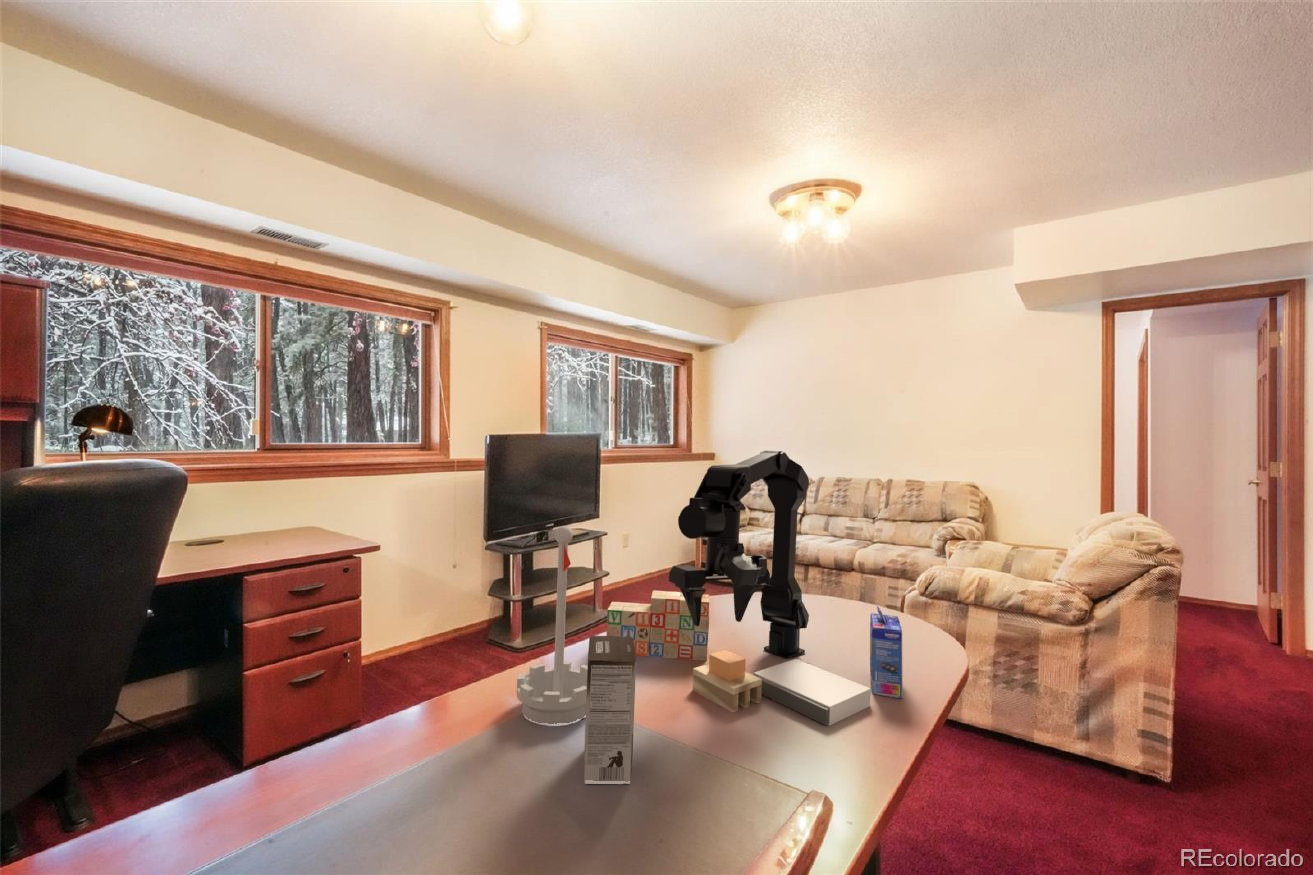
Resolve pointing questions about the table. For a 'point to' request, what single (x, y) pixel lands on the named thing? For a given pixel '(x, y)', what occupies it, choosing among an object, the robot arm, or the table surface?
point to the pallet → (727, 688)
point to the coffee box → (610, 708)
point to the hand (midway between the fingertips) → (717, 623)
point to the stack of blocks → (661, 626)
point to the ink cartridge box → (886, 655)
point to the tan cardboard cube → (727, 665)
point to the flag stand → (555, 664)
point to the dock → (813, 691)
